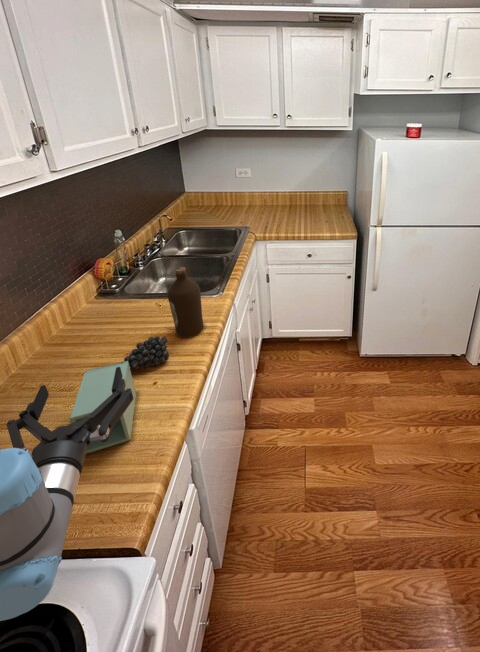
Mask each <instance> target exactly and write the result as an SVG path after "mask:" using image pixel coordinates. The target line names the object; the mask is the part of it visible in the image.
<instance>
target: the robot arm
mask: <svg viewBox="0 0 480 652" xmlns="http://www.w3.org/2000/svg"><path fill="white" fill-rule="evenodd" d="M125 386H126V384H125V381H124V379H122V372H121V368H120V367H117V368H116V371H115V376H114V380H113V385H112V393H113V394H112V395H110V396H109V397H108V398H107V399H106V400H105V401H104V402H103V403H102V404H101V405H99V406H98V407H97V408H96V409H95V410H94V411H93V412H92V413H91V414H90V415H86V416H85V417H83V418H82V419H81V420H80V421H79V422H78V423H77V422H74V423H71V422H70V423H69V424H67V425H59V426H57V427H56V428H55V429H54V430H51V429H49V428H48V427H47V426H44V425H43V424H41V423H40V422H39V420H40V418H41V415H42V413H43V410H44V407H45V405H46V403H47V401H48V398H49V396H50V393H49V391H48V388H47V386H46V384H43V385H40V387H39V389H38V391H37V393H36V395H35V398H34V400H33V401H31V402H29V403H28V404H27V406H26V408H25V410H22V411H20V412H19V413H18V416H19V418H18V419H14V418H13V419H10V420H9V421H7V422H6V428H7V432H8V435H9V439H10V443H11V445H12V447H8V448H7V447H6V448H2V449H0V622H2V621H7V620H11V619H14V618H17V617H19V616H21V615H24V614H26V613H28V612H30V611H31V610H33V609H34V608H36V607H37V606H38V605H39V604H41V603H42V602H43V601H44V600H45V599H46V598H47V597H48V595H49V594H50V592H51V590H52V588H53V586H54V582H55V578H56V575H57V572H58V570H59V565H60V564H61V562H62V559H63V556H62V554H63V550H64V546H65V541H66V537H67V534H68V528H69V524H70V520H71V515H72V512H73V508H74V503H75V500H76V495H77V490H78V486H79V482H80V479H81V474H82V471H83V467H84V463H85V460H86V455H87V454H86V450H87V447H88V445H89V444H90V443H91V442H92V441H96V440H101V442H102V443H104V442H106V441H108V439H109V437H110V433H111V430H112V429H113V428H114V426H115V425H116V423H117V422H118V420H119V419H120V418H121V416H122V415H123V413H124V412H125V411H126V409H127V408H128V406H129V405H130V403H131V402H132V401H133V399H134V398H133V394H132V390H131V388H128V389H126V390H125ZM101 422H102V423H101ZM99 423H101V425H98V424H99ZM84 425H86V426H87V428H86V427H84ZM97 425H98V426H97ZM96 427H97V429H96ZM22 429H25V430H26V431H27V432H28V433H30V434H31V435H32V436H33V437H34V438H35V439H36V440H38V441H39V443H38V444H37V445H36V446H34V448H33V449H32V450H30V449H29V448H26V445H25V443H24V440H23V436H22V434H21V430H22ZM95 429H96V431H95ZM94 431H95V432H94Z"/></svg>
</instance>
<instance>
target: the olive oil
mask: <svg viewBox="0 0 480 652" xmlns="http://www.w3.org/2000/svg"><path fill="white" fill-rule="evenodd" d="M174 271H175V277H176V279H175V280H174V282H172V284H171V285H170V286H169V288H168V291H167V299H168V300H167V301H168V304H169V309H170V311H171V315H172V320H173V324H174V329H175V333H176V335H177V336H178V337H180V338H191V337H195V336H197V335H199V334H200V333H202V331H203V329H204V320H203V307H202V296H201V288H200V286H199V285H198V284H199V283H197V282H196V281H195V280H193V279H191V278H189V277H188V273H187V271H186V267H185V266H179V267H176V268H175V270H174Z"/></svg>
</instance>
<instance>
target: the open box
mask: <svg viewBox="0 0 480 652" xmlns="http://www.w3.org/2000/svg"><path fill="white" fill-rule="evenodd" d="M117 367H120V368H121V372H122V379H124V381H125V384H126V386H125V390H126V389H128V388H131V390H132V394H133V398H134V399H133V401H132V402H131V403H130V405H129V406H128V408H127V409H126V411H125V412H124V413H123V415H122V416H121V418H120V419H119V420H118V422H117V423H116V425H115V426H114V428H113V429H112V430H111V433H110V437H109V439H108V441H106V442H104V443H102V442H101V440H96V441H92V442H91V443H90V444H89V445H88V447H87V450H86V455H87V454H90V453H93V452H94V453H95V452H96V451H100V450H103V449H107V448H109V447H113V446H117V445H119V444H122V443H126V442H129V441H131V438H132V437H131V436H132V430H133V423H134V413H135V407H136V398H137V391H136V387H135V383H134V379H133V374H132V370H131V371H130V367H129V363H128V361H125V362H124V361H120V362H117V363H113V364H108V365H104V366H100V367H95V368H91V369H86V370H84V372H83V373H84V374H83V375H82V376H83V377H82V379H81V383H80V385H79V389H78V392H77V395H76V398H75V401H74V404H73V407H72V410H71V413H70V416H69V421H70V424H71V423H74V422H77V423H78V422H79V421H80V420H81V419H82V418H83V417H85V416H86V415H90V414H91V413H92V412H93V411H94V410H95V409H96V408H97V407H98V406H99V405H101V404H102V403H103V402H104V401H105V400H106V399H107V398H108V397H109V396H110V395H112V394H113V393H112V385H113V380H114V376H115V371H116V368H117ZM101 423H102V422H101ZM101 423H99V424H98V425H101ZM98 425H97V426H98ZM84 427H86V428H87V426H86V425H84ZM96 429H97V427H96ZM96 429H95V431H96ZM95 431H94V432H95Z"/></svg>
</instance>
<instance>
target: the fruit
mask: <svg viewBox="0 0 480 652" xmlns="http://www.w3.org/2000/svg"><path fill="white" fill-rule="evenodd" d="M167 343H168V338H167V336H166V335H164V336H161V337H160V336H159V335H158V336H154V337H153V336H149V337H148V339H147V340H144V341H143V342H138V343H137V344H136V346H135V347H136V348H133V349H132V350H131V352H130V353H129V355H127V356H125V357H124V358H123V362H125V361H128V363H129V367H130V371H131V372H132V370H133V369H140V370H143V369H144V368H145V367H146V368H148V367H150V366H155V365H156V366H158V365H160V363H164V361H165V362H166V361H168V360H169V358H170V353H169V351H168V348H171V345H167Z"/></svg>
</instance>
